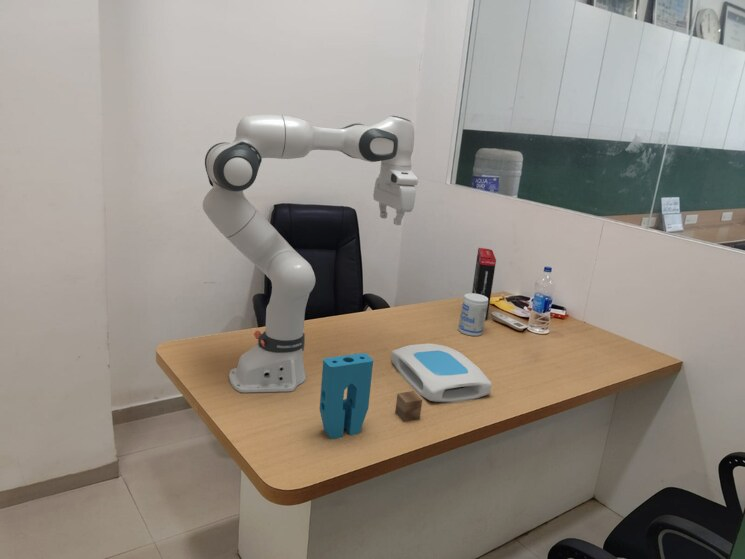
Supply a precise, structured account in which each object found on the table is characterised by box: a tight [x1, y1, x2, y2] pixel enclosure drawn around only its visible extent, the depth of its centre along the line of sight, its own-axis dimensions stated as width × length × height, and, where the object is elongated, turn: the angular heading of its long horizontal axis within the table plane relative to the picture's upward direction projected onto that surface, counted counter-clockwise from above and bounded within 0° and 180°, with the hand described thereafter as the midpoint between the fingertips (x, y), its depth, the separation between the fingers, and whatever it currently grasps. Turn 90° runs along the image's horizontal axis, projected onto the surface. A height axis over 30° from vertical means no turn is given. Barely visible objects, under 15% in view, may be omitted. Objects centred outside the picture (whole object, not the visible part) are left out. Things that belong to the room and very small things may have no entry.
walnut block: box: [394, 390, 423, 423], centre depth 148 cm, size 5×5×6 cm
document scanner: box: [391, 342, 493, 404], centre depth 171 cm, size 21×28×6 cm
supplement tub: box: [458, 292, 488, 337], centre depth 212 cm, size 10×10×15 cm
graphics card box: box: [471, 247, 497, 321], centre depth 232 cm, size 17×7×27 cm, turn 174°
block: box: [319, 352, 374, 440], centre depth 136 cm, size 12×5×20 cm, turn 119°
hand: (390, 221), depth 163 cm, fingers open, 8 cm apart
